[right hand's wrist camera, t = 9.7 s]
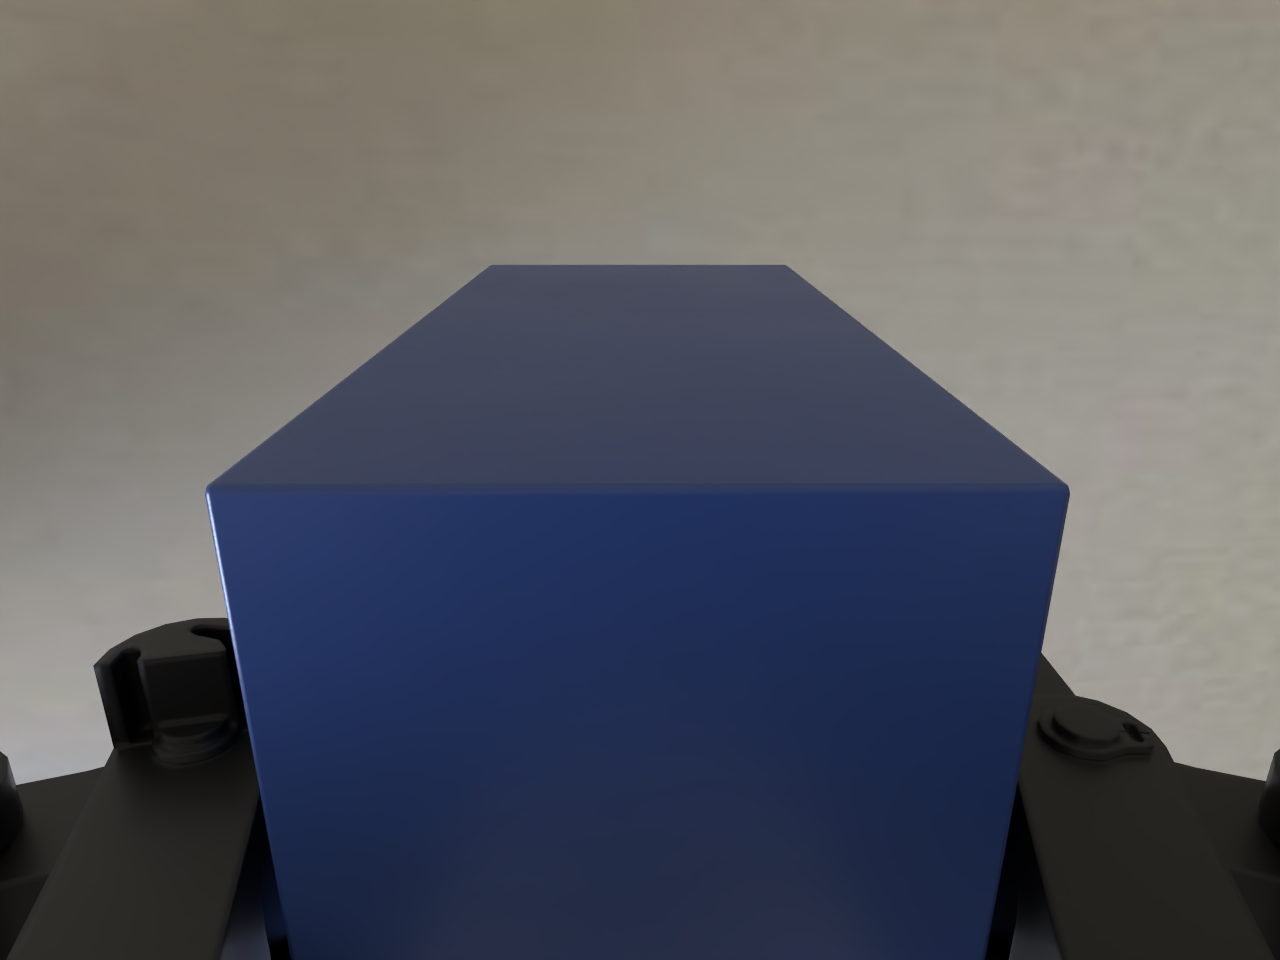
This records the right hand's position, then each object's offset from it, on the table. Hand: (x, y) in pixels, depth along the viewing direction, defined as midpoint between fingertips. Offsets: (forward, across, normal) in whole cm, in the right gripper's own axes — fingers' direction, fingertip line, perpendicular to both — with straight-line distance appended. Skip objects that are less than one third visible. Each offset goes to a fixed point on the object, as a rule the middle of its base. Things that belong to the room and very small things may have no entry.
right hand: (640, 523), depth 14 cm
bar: (+1, 0, -9) cm, 9 cm away
